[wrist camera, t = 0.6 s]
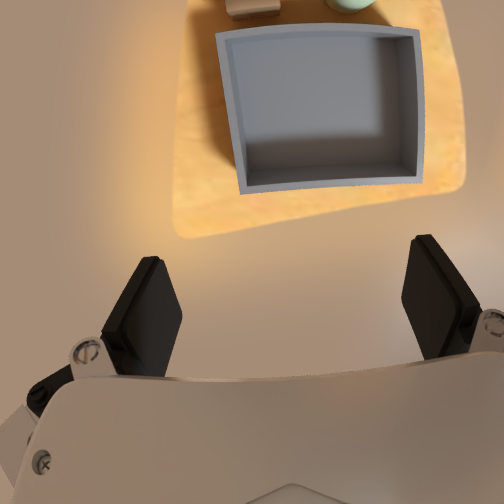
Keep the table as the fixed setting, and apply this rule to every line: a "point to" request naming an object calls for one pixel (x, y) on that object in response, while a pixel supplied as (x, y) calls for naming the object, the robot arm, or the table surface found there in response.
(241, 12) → the cube
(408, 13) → the table surface
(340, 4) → the cylinder
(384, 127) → the tote
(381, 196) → the table surface
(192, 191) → the table surface
